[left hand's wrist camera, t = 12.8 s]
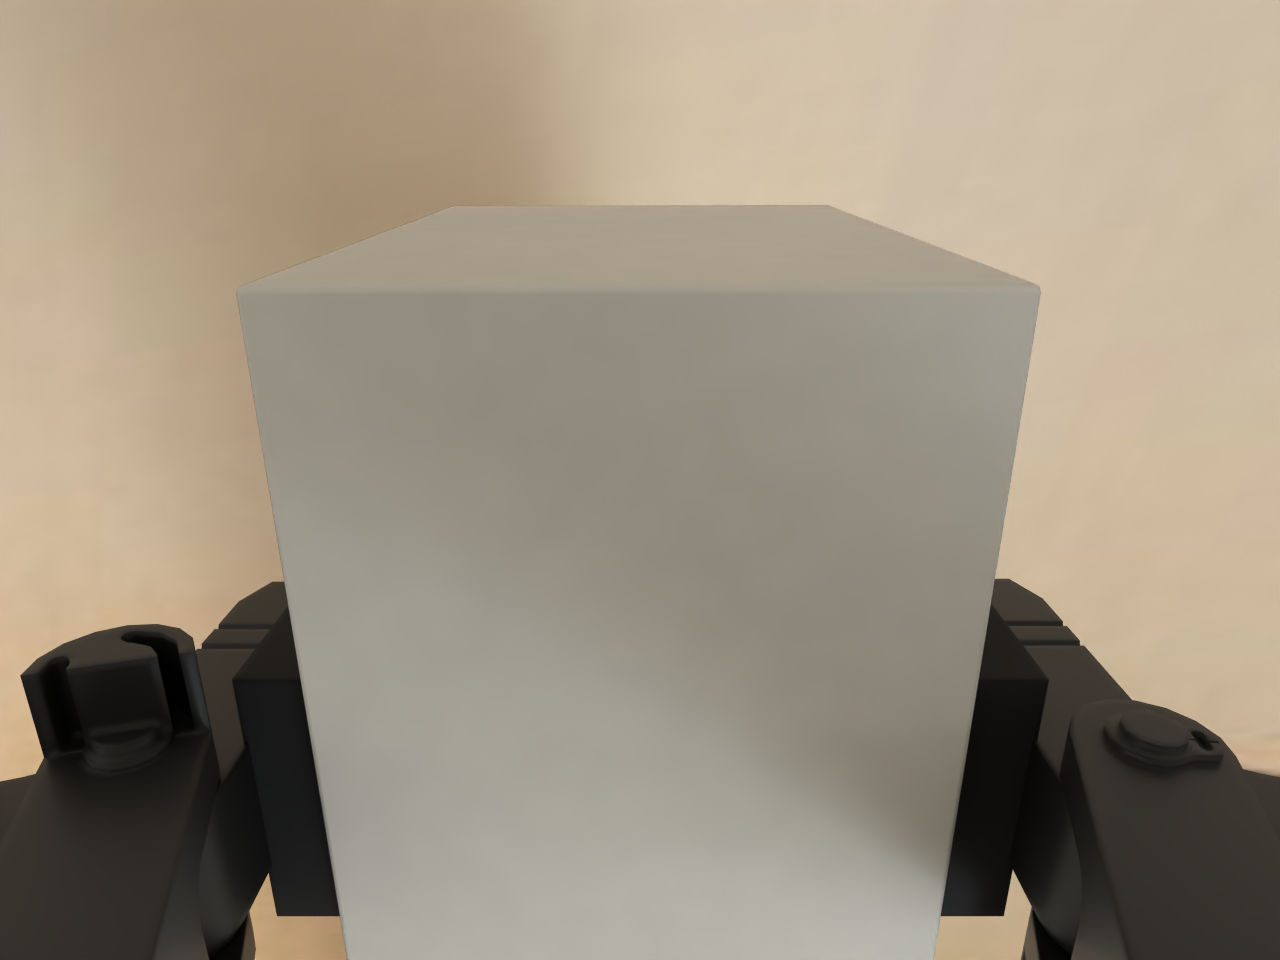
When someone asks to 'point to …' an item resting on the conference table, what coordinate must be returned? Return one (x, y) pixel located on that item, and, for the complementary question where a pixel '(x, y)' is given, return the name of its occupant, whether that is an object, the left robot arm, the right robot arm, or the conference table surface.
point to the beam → (639, 572)
